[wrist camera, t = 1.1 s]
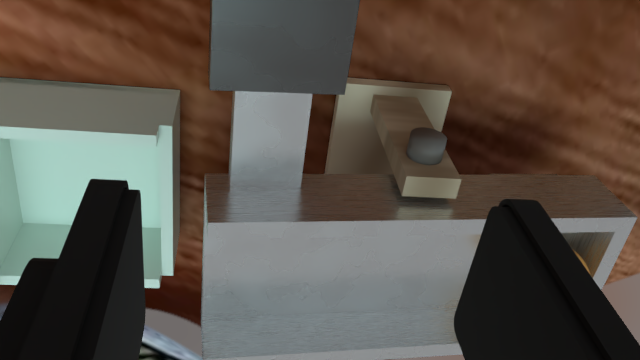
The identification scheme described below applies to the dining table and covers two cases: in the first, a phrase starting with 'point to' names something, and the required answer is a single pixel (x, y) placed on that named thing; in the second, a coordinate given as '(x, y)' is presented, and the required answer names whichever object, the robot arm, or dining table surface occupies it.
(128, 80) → the dining table surface
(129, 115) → the mint green storage bin
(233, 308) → the track
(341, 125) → the stand
